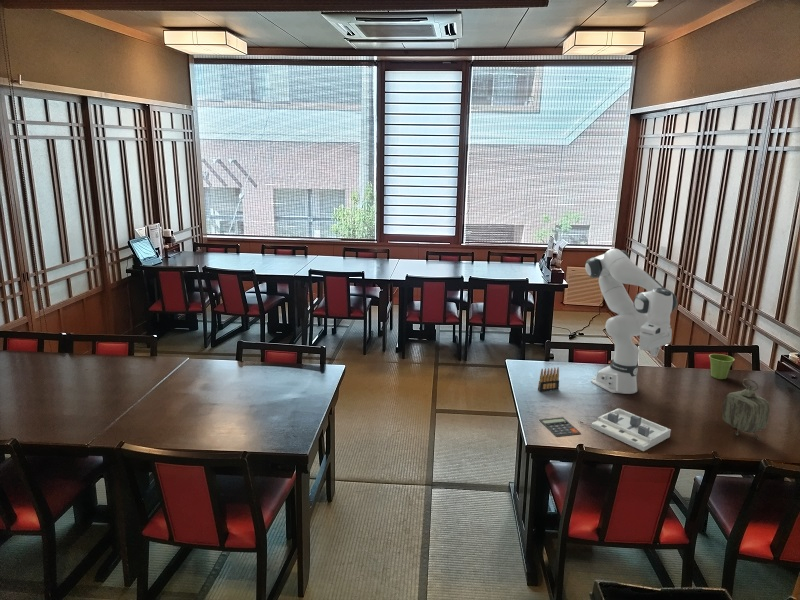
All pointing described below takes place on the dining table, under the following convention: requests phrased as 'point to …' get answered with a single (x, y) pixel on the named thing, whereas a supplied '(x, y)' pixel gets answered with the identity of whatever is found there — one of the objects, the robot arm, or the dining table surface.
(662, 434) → the switch bank
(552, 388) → the ammunition clip
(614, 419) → the tab
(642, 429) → the tab
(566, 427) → the calculator
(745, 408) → the tabletop clock
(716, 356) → the plant pot
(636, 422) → the tab
